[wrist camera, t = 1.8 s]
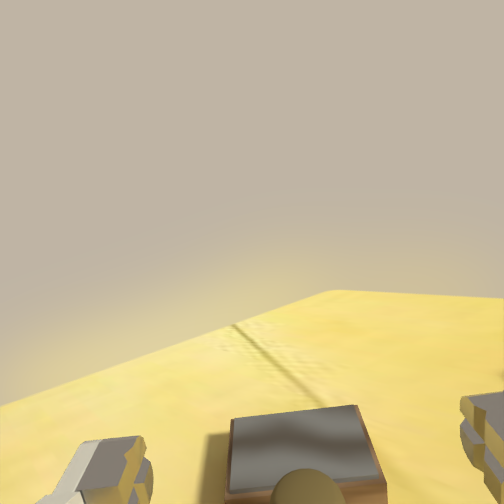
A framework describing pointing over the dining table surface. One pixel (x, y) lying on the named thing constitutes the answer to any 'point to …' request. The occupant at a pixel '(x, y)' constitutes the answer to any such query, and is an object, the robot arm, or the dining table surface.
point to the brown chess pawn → (306, 489)
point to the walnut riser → (303, 454)
